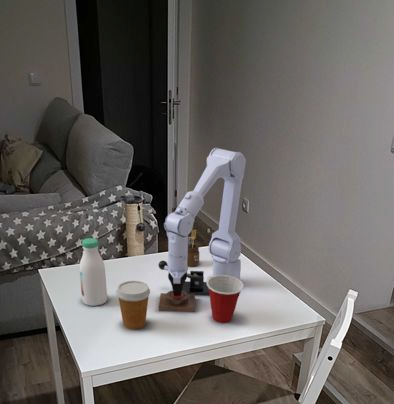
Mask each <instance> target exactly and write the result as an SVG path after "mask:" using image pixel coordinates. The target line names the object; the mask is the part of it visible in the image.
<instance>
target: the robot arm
mask: <svg viewBox="0 0 394 404" xmlns="http://www.w3.org/2000/svg"><path fill="white" fill-rule="evenodd" d="M246 163H247V159H246V158H245V156H244V154H243V153H242V152H240V151H232V150H228V149H223V148H219V147H215V148H212V149H211V151H210V153H209V155H208V156H207V157H206V167H205V169H204V171H203V172H202V174H201V176H200V177H199V179H198V181H197V183H196V184H195V187H194V188H193V190H191V191H190V190H189V191H188V192H186V194H184V197H183V198H182V200H181V201H180V203H179V204H178V205H177V207H176V209H175V210H174V211H173V212H171V213H168V215H167V216H166V217H165V221H164V223H163V227H164V230H165V231H166V237H167V238H168V240H167V241H168V245H167V246H168V251H167V253H168V258H167V261H168V262H167V264H168V266H165V267H164V270H163V271H167V272H168V275H167V279H168V281H169V282H170V285H171V289H172V291H173V294H174V296H181V293H182V288H183V284H184V282H185V281H186V280H187V279H188V277H187V273H188V271H189V266H187V257H188V244H189V235H190V233H192V230H193V228H194V223H195V218H196V217H197V215H198V214H199V212H200V210H201V208H202V207H203V206H204V203H205V201H204V197H205V196H206V194H207V193H208V192H209V191H210V189H211V188H212V187H213V185H214V184H215V183H216V182H217V180H218V179H220V178H221V179H223V180H224V183H223V184H224V185H223V191H222V193H223V195H222V200H221V207H220V215H219V223H218V229H217V230H215V231H214V232H212V234H211V238H210V241H209V244H208V252H209V254H210V255H211V258H212V259H213V261H212V275H211V277H213V276H216V275H228V276H232V277H235V278H237V279H239V280H241V271H242V270H241V267H242V266H241V264H242V262H241V261H242V260H241V259H240V256H241V253H242V245H241V244H242V243H241V242H242V238H241V237H240V236H239V235H238V233H237V232H236V227H237V226H236V225H237V218H238V211H239V204H240V198H241V191H242V183H243V180H244V177H245V169H246Z"/></svg>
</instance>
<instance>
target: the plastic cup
mask: <svg viewBox="0 0 394 404" xmlns="http://www.w3.org/2000/svg"><path fill="white" fill-rule="evenodd" d="M212 276H213V275H212ZM212 276H210V277H208V279H207V280H206V282H207V286H208V289H209V294H210V296H209V303H210V309H211V316H212V319H213V321H214V322H217V323H221V324H227V323H230V322H231V321H232V320H233V317H234V313H235V311H236V308H237V303H238V300H239V298H240V297H239V296H240V294H241V292H242V291H243V290H244V287H245V286H244V283H243V281H242V280H241V279H240V280H239V279H237V278H235V277H232V276H228V275H216V276H213V277H212Z"/></svg>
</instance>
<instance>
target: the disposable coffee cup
mask: <svg viewBox="0 0 394 404" xmlns="http://www.w3.org/2000/svg"><path fill="white" fill-rule="evenodd" d="M115 294H116V296H117V298H118V303H119V308H120V313H121V319H122V324H123V327H124V328H125V329H127V330H131V331H132V330H133V331H135V330H141V329H143V328H144V327H145V326H146V320H147V311H148V304H149V296H150V295H151V290H150V287H149V285H148V284H147V283H145V282H144V281H140V280H126V281H123V282H121V283H119V284H118V285H117V289H116V290H115Z"/></svg>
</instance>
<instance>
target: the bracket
mask: <svg viewBox="0 0 394 404" xmlns="http://www.w3.org/2000/svg"><path fill="white" fill-rule="evenodd" d="M194 273H195V274H198V275H200V276H190V278H189V281H186V280H185V282H184V284H183V288H182V291H185V292H187V293H188V294H195V296H205V297H207V296H208V297H210V294H209V289H208V286H207V281H205V277H204V274H205V272H204V271H202V270H190V271H189V274H191V275H194Z"/></svg>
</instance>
